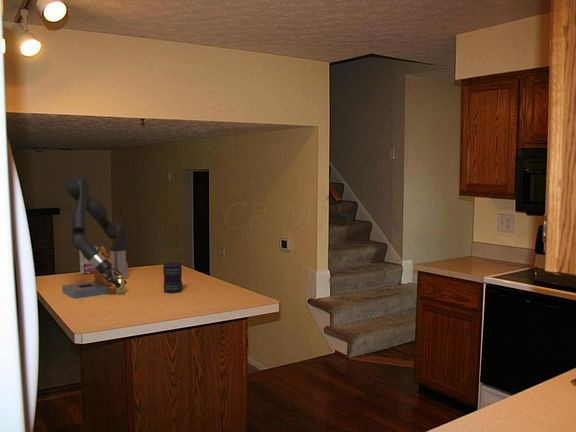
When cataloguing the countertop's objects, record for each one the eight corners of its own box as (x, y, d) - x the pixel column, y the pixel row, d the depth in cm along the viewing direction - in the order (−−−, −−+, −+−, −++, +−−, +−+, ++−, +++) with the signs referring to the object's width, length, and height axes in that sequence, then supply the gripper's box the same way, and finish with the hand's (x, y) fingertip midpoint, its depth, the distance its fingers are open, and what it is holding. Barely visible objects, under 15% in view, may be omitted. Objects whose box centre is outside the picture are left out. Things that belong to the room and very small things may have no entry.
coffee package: (111, 282, 313) (110, 245, 311) (114, 286, 301) (113, 247, 300) (93, 283, 309) (92, 245, 307) (95, 287, 297) (94, 248, 296)
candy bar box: (95, 271, 348) (94, 246, 346) (99, 272, 345) (99, 247, 343) (79, 273, 339) (78, 248, 338) (84, 274, 336) (83, 248, 334)
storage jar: (177, 293, 282) (177, 266, 280) (160, 293, 284) (159, 265, 282) (185, 289, 291) (184, 262, 290) (168, 289, 293) (167, 262, 292)
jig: (95, 288, 296) (95, 281, 296) (109, 293, 282) (108, 286, 282) (62, 292, 284) (62, 285, 284) (74, 298, 271) (74, 291, 270)
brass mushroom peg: (123, 292, 285) (122, 274, 284) (127, 294, 281) (127, 275, 280) (112, 293, 282) (112, 275, 281) (117, 295, 277) (116, 276, 277)
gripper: (99, 260, 273) (122, 283, 273) (110, 256, 287) (132, 277, 288) (90, 270, 274) (112, 293, 274) (101, 265, 288) (123, 287, 288)
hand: (122, 285), depth 281 cm, fingers open, 7 cm apart
